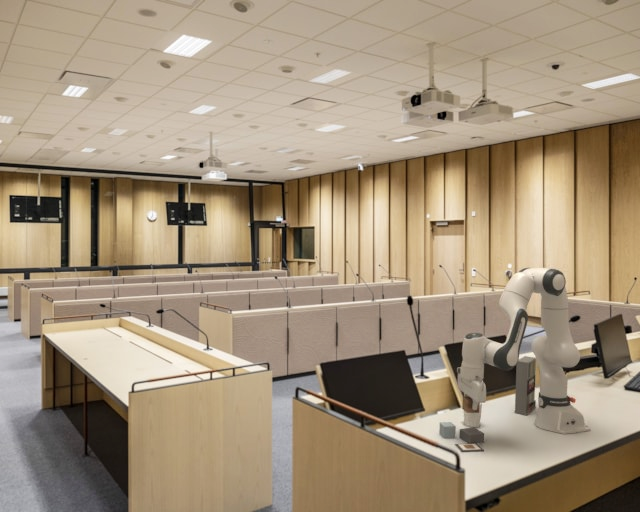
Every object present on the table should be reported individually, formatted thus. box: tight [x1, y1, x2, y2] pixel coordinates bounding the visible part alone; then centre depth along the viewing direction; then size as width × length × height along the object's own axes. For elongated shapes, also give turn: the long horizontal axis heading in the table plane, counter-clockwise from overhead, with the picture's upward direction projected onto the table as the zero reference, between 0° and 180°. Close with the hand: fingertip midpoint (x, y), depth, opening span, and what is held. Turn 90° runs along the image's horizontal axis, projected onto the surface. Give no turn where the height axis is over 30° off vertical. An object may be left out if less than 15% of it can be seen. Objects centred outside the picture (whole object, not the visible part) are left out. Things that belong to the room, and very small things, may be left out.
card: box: [454, 443, 485, 453], centre depth 206 cm, size 9×7×1 cm
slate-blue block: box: [439, 421, 457, 439], centre depth 218 cm, size 5×5×5 cm
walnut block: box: [461, 396, 479, 413], centre depth 214 cm, size 5×5×5 cm
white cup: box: [463, 403, 483, 428], centre depth 232 cm, size 8×8×10 cm
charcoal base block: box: [458, 427, 485, 444], centre depth 214 cm, size 7×7×4 cm
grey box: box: [514, 355, 537, 416], centre depth 252 cm, size 14×6×25 cm, turn 143°
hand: (470, 406), depth 214 cm, fingers closed on walnut block, 5 cm apart
